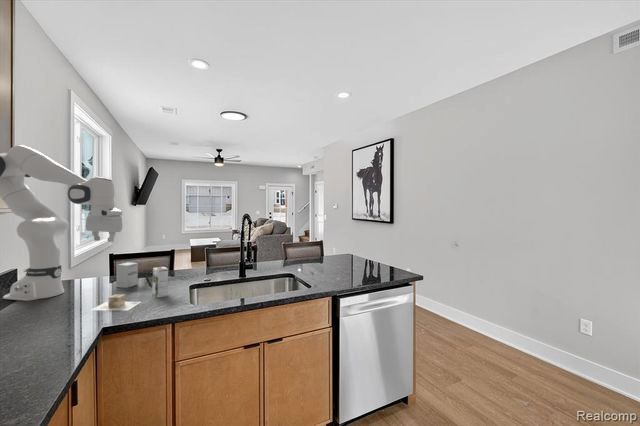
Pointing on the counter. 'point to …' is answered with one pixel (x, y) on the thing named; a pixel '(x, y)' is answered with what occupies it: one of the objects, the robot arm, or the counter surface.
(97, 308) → the envelope
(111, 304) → the beech block
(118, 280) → the supplement box
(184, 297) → the counter surface
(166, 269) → the syrup box
